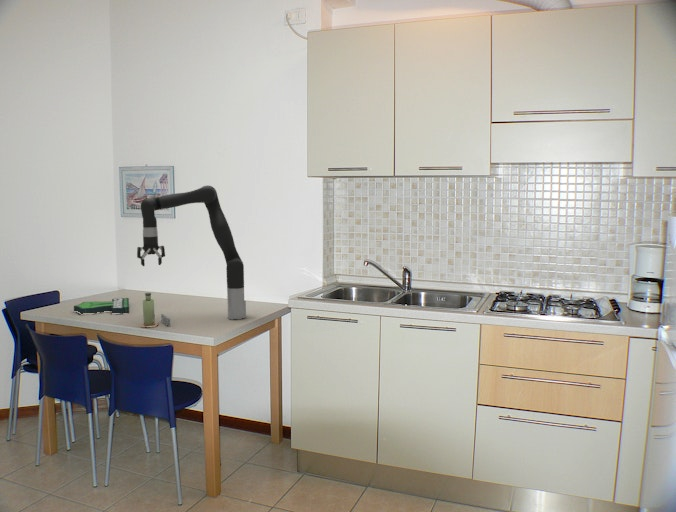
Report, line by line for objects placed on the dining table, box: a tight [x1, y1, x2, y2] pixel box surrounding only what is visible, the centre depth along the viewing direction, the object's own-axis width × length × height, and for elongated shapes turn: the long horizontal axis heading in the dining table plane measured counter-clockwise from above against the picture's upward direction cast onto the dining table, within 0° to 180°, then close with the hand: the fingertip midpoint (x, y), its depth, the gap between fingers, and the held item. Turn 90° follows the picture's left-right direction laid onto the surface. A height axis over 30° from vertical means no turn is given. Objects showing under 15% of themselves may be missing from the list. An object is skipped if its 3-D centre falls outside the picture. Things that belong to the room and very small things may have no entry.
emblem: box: [73, 297, 130, 314], centre depth 333 cm, size 30×4×30 cm
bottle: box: [142, 292, 156, 326], centre depth 295 cm, size 6×6×17 cm
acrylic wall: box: [160, 313, 171, 327], centre depth 300 cm, size 1×14×4 cm, turn 32°
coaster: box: [139, 322, 159, 328], centre depth 296 cm, size 9×9×1 cm
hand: (151, 265), depth 306 cm, fingers open, 8 cm apart
